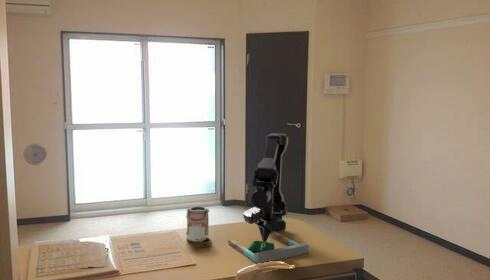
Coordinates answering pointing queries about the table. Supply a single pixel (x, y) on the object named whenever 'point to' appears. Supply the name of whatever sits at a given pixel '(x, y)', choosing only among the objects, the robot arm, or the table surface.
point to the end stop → (281, 253)
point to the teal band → (252, 255)
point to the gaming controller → (261, 246)
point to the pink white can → (197, 223)
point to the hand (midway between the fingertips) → (264, 241)
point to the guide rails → (240, 248)
